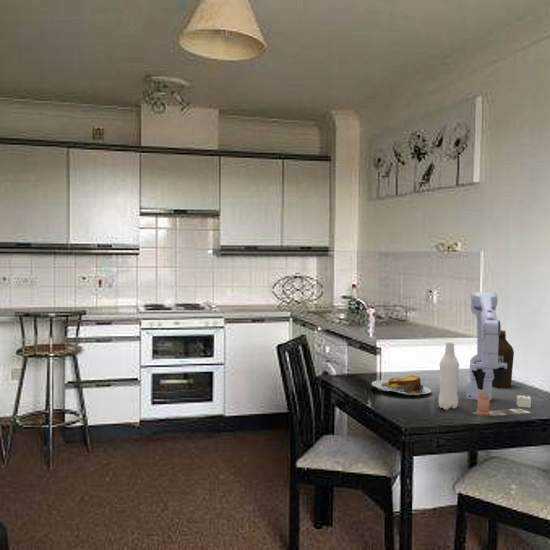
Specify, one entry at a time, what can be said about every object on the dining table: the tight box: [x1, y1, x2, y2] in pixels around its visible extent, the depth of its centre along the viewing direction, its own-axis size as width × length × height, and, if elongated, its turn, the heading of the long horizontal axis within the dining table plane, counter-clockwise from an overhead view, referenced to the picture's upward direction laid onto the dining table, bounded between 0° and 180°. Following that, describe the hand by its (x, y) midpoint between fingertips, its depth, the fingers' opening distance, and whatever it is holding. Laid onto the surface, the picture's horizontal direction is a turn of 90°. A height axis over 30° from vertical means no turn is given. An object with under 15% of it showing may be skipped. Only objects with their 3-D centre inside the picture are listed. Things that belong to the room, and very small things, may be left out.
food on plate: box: [371, 375, 432, 396], centre depth 259 cm, size 25×25×7 cm
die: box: [516, 395, 532, 408], centre depth 235 cm, size 4×4×5 cm
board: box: [472, 407, 532, 418], centre depth 224 cm, size 22×7×1 cm, turn 110°
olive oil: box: [492, 330, 515, 389], centre depth 274 cm, size 11×11×25 cm
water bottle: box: [438, 342, 460, 411], centre depth 231 cm, size 7×7×25 cm
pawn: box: [476, 392, 491, 417], centre depth 221 cm, size 5×5×8 cm
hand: (488, 388), depth 226 cm, fingers open, 7 cm apart
